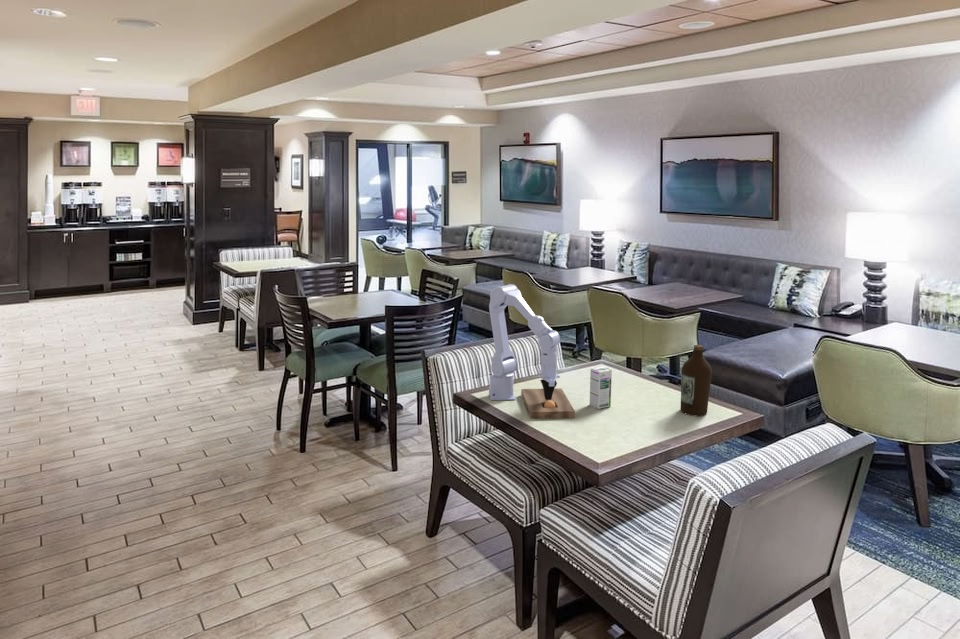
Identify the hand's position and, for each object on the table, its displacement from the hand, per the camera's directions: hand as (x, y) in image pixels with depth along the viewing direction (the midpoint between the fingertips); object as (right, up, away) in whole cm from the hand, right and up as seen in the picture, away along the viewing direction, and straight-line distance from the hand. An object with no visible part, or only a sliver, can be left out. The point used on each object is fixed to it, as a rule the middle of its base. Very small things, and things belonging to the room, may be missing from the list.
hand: (548, 399), depth 250 cm
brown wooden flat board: (0, -3, +3) cm, 4 cm away
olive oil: (+53, -4, -2) cm, 54 cm away
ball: (0, -2, -4) cm, 4 cm away
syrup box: (+20, -3, +4) cm, 20 cm away
